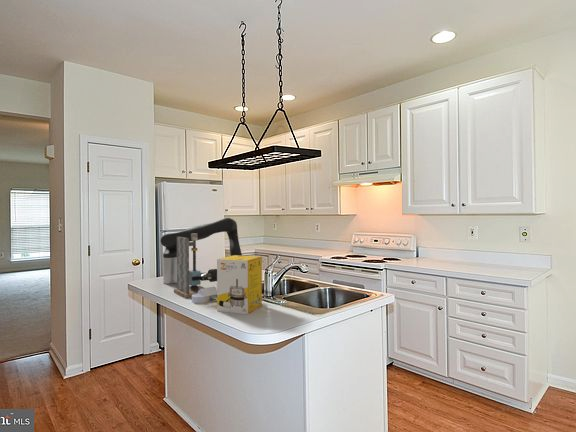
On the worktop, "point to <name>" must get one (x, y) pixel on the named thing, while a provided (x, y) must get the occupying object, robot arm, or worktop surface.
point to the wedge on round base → (203, 295)
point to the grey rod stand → (185, 266)
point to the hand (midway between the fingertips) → (190, 278)
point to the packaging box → (239, 284)
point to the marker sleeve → (194, 274)
